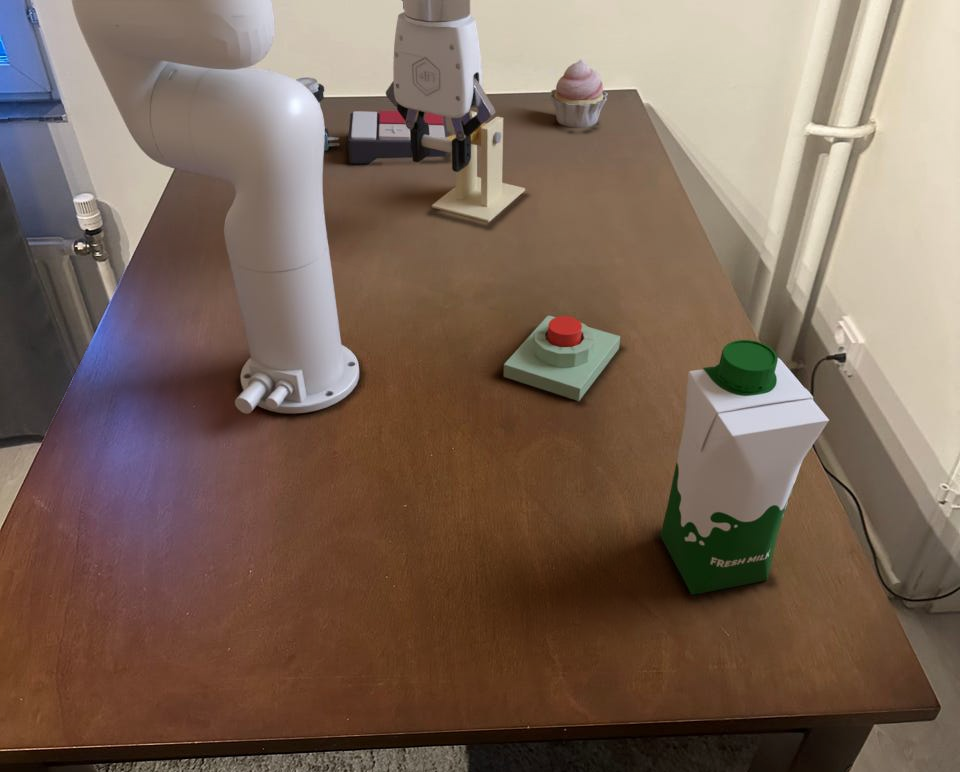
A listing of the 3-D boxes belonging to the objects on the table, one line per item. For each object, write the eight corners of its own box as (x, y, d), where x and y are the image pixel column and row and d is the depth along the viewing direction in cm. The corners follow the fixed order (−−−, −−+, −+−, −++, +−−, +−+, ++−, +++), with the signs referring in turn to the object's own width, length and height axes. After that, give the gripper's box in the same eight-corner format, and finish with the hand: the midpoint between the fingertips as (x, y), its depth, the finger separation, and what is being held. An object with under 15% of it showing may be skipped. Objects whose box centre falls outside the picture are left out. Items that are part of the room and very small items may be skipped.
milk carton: (736, 514, 82) (789, 329, 68) (782, 588, 75) (852, 401, 61) (646, 530, 80) (681, 344, 66) (686, 607, 74) (734, 420, 60)
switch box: (578, 401, 94) (581, 374, 91) (503, 377, 97) (503, 350, 94) (619, 348, 100) (622, 322, 98) (547, 327, 104) (548, 301, 101)
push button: (341, 141, 141) (334, 75, 134) (337, 155, 137) (329, 88, 130) (299, 141, 141) (290, 75, 134) (294, 155, 137) (284, 88, 130)
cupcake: (612, 118, 148) (618, 54, 141) (595, 139, 142) (601, 73, 135) (558, 110, 150) (562, 46, 143) (540, 130, 144) (543, 65, 137)
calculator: (448, 137, 133) (347, 135, 132) (447, 165, 136) (349, 163, 135) (445, 109, 141) (350, 107, 140) (445, 136, 144) (351, 134, 143)
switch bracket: (488, 228, 121) (489, 141, 112) (431, 213, 124) (428, 127, 116) (525, 196, 128) (528, 112, 119) (470, 182, 131) (469, 99, 122)
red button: (572, 352, 95) (573, 338, 93) (541, 342, 96) (542, 329, 95) (586, 335, 97) (587, 321, 96) (556, 326, 98) (557, 312, 97)
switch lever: (454, 159, 110) (456, 138, 109) (420, 151, 112) (421, 131, 111) (499, 145, 120) (501, 126, 118) (466, 137, 121) (468, 119, 120)
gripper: (355, 1, 101) (368, 160, 113) (488, 23, 95) (486, 188, 107) (391, -15, 105) (399, 140, 118) (519, 6, 100) (514, 166, 112)
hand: (440, 161), depth 112 cm, fingers closed on switch lever, 5 cm apart
